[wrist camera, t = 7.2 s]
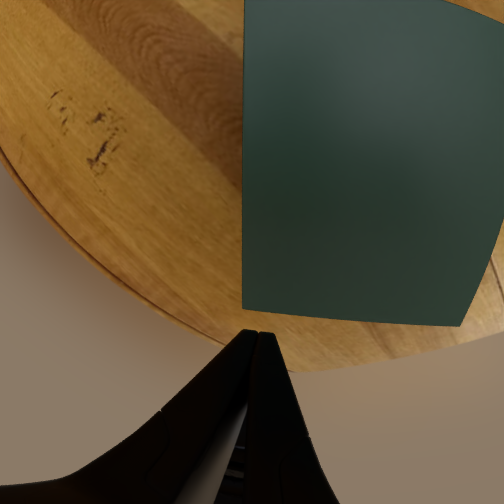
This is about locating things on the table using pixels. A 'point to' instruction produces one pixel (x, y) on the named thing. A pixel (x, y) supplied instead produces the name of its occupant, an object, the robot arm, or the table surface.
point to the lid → (370, 158)
